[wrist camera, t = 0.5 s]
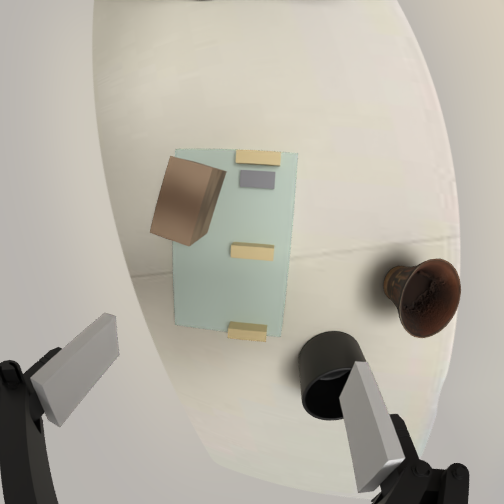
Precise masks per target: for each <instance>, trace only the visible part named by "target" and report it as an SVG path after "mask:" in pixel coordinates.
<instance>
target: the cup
mask: <svg viewBox="0 0 504 504" xmlns="http://www.w3.org/2000/svg"><path fill="white" fill-rule="evenodd" d="M384 292H385V294H386V296H387V297H388V298H389V299H391V300H392V301H393V302H394V304H395V305H396V307H397V309H398V313H399V318H400V321H401V323H402V325H403V327H404V329H405V330H406V331H407V332H408V333H409V334H410V335H412V336H414V337H418V338H426V337H430V336H433V335H435V334H436V333H438V332H440V331H441V330H442V329H443V328H444V327H446V326H447V324H448V323H449V322H450V321H451V319H452V318H453V316H454V314H455V312H456V310H457V307H458V304H459V300H460V294H461V285H460V279H459V276H458V273H457V271H456V269H455V268H454V267H453V266H452V264H450V263H449V262H448V261H445V260H443V259H430V260H427V261H425V262H423V263H421V264H419V265H417V266H413V267H405V266H397V267H394V268H392V269H391V270H390V271H389V272H388V274H387V275H386V277H385V280H384Z"/></svg>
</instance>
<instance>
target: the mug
mask: <svg viewBox="0 0 504 504" xmlns="http://www.w3.org/2000/svg"><path fill="white" fill-rule="evenodd" d="M355 361H357V362H366V360H365V358H364V355H363V353H362V351H361V349H360V346H359V344H358V342H357V341H356V340H355V339H354V338H353V337H352V336H350V335H348V334H345V333H342V332H327V333H323V334H320V335H318V336H316V337H314V338H312V339H311V340H310V341H309V342H308V343H307V344H306V345H305V346H304V348H303V349H302V351H301V353H300V356H299V371H300V383H301V396H302V404H303V407H304V409H305V410H306V411H307V412H308V413H309V414H310V415H311V416H313V417H315V418H318V419H322V420H339V419H344V417H343V413H342V408H341V404H340V399H339V397H340V395H341V393H342V391H343V389H344V386H345V384H346V382H347V380H348V377H349V375H350V373H351V370H352V368H353V365H354V363H355Z"/></svg>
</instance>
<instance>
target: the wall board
mask: <svg viewBox="0 0 504 504" xmlns="http://www.w3.org/2000/svg"><path fill="white" fill-rule="evenodd" d="M175 157H177V158H181V159H186V160H190V161H194V162H197V163H201V164H204V165H208V166H211V167H214V168H218V169H221V170H224V171H227V172H226V175H225V178H224V181H223V184H222V188H221V191H220V194H219V197H218V200H217V203H216V206H215V210H214V213H213V216H212V219H211V223H210V226H209V229H208V233H207V234H206V235H204V236H203V237H202V238H200V239H199V240H197V241H196V242H195V243H193V244H192V245H191V246H186V245H183V244H180V243H178V242H175V241H173V289H174V311H175V325H180V326H186V327H193V328H201V329H208V330H216V331H224V332H228V338H232V339H241V340H251V341H261V342H266V336H275V337H281V331H282V323H283V315H284V306H285V298H286V289H287V279H288V270H289V260H290V249H291V239H292V228H293V216H294V203H295V190H296V176H297V161H298V153H289V152H276V151H260V150H238V149H176V151H175Z"/></svg>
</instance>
